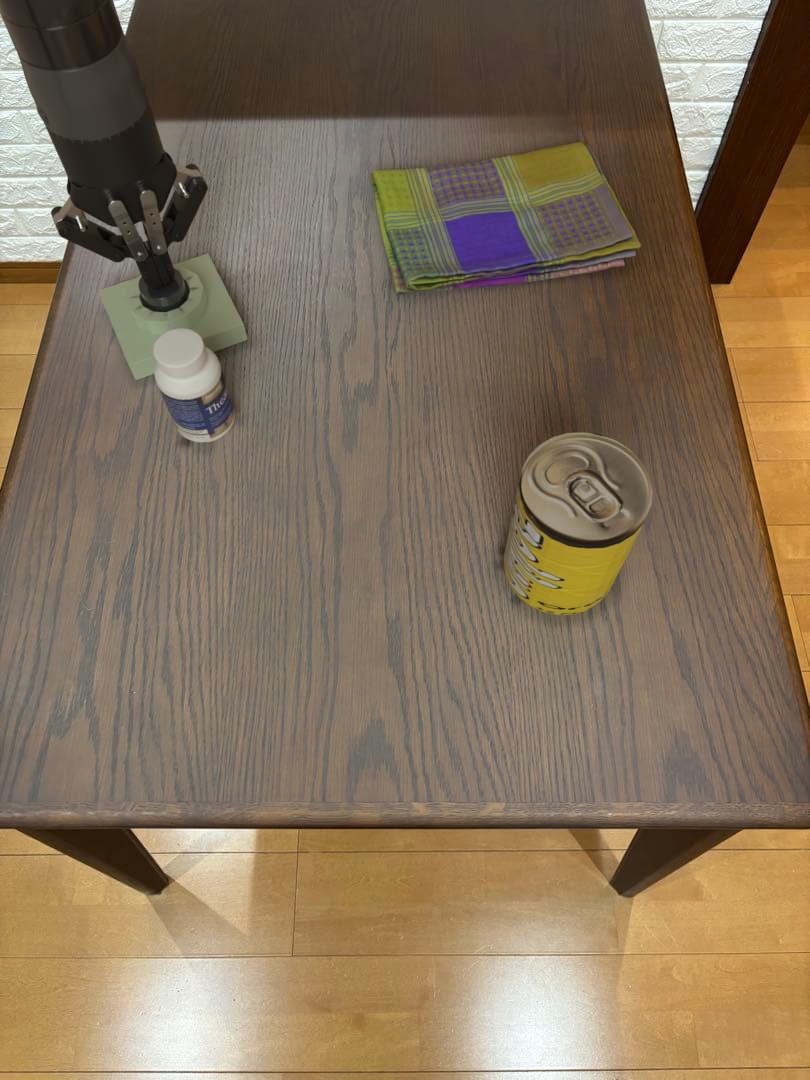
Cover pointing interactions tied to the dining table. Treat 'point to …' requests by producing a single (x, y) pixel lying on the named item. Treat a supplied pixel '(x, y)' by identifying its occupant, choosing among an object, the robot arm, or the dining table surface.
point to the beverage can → (574, 521)
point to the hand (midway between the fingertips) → (160, 281)
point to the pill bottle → (193, 386)
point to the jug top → (173, 315)
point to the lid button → (164, 294)
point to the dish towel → (500, 220)
